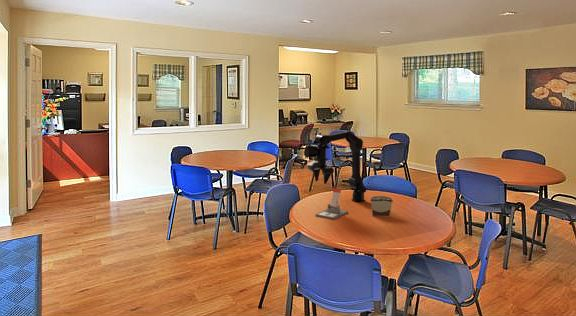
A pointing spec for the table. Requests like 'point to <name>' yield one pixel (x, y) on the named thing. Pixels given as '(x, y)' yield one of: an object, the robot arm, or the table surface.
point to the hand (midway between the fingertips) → (320, 182)
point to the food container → (381, 205)
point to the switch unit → (331, 213)
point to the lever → (335, 198)
